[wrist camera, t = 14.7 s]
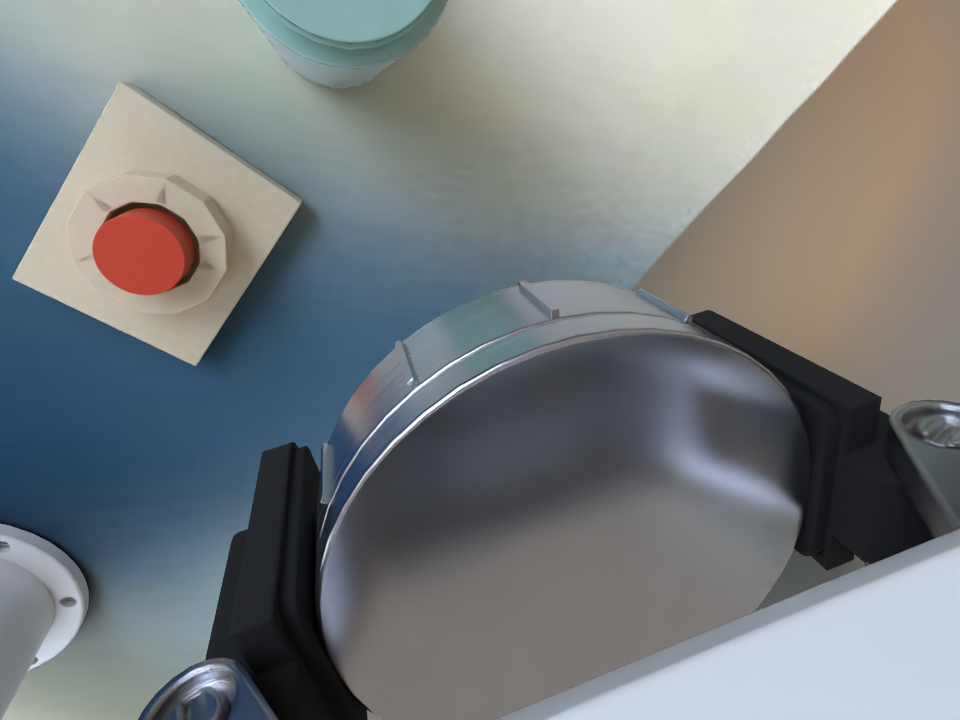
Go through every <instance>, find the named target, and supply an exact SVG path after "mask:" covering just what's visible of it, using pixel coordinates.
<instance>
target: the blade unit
mask: <svg viewBox="0 0 960 720" xmlns="http://www.w3.org/2000/svg"><path fill="white" fill-rule="evenodd" d="M518 285H519V286H516V287H512V288H508V289H505V290H501V291H497V292H494V293H490V294H487V295H485V296H482V297H480V298H477V299H475V300H472V301H470V302H468V303H465V304H463V305H460V306H458V307H456V308H454V309H452V310H451V311H449V312H447V313H445V314H443V315H442V316H440V317H438V318H436V319H435V320H433V321H431V322H429V323H428V324H426V325H425V326H423V327H422V328H421V329H419V330H418V331H417V332H415V333H414V334H413V335H411V336H410V337H408V338H407V339H406V340H404V341H403V342H402V341H401V340H398V341H397V342H396V343H395V347H396V348H395V349H394V350H393V351H392V352H391V353H390V354H389V355H388V356H387V357H385V358H384V359H383V360H382V361H381V362H380V363H379V364H378V365H377V366H376V367H375V368H374V369H373V371H372V372H371V373H370V374H369V376H368V377H367V378H366V379H365V380H364V382H363V383H362V384H361V385H360V387H359V388H358V389H357V390H356V391H355V393H354V395H353V396H352V398H351V400H350V401H349V403H348V404H347V406H346V408H345V409H344V411H343V412H342V414H341V416H340V417H339V419H338V422H337V424H336V426H335V429H334V431H333V433H332V435H331V438H330V440H329V442H328V444H324V443H323V445H322V448H321V471H320V478H319V488H318V498H317V542H316V586H315V603H316V616H317V628H318V631H319V635H320V639H321V642H322V645H323V648H324V651H325V654H326V656H327V657H328V659H329V661H330V663H331V665H332V667H333V668H334V670H335V672H336V674H337V676H338V677H339V679H340V681H341V683H342V684H343V685H344V687H345V688H346V689H347V690H348V692H349V693H350V694H351V695H352V697H354V698H355V699H356V700H357V701H358V702H359V703H360V704H362V705H363V706H364V707H365V708H366V709H367V710H369V711H370V712H371V713H373V714H374V715H376V716H378V717H379V718H381V719H383V720H497V719H499V718H501V717H504V716H506V715H509V714H511V713H513V712H516V711H518V710H520V709H523V708H525V707H528V706H530V705H532V704H535V703H537V702H539V701H542V700H544V699H547V698H549V697H551V696H554V695H556V694H558V693H561V692H563V691H566V690H568V689H570V688H573V687H575V686H578V685H580V684H582V683H585V682H587V681H589V680H592V679H594V678H597V677H599V676H601V675H604V674H606V673H608V672H611V671H613V670H616V669H618V668H620V667H623V666H625V665H628V664H630V663H633V662H635V661H637V660H640V659H642V658H645V657H647V656H649V655H652V654H654V653H657V652H659V651H662V650H664V649H666V648H669V647H671V646H674V645H676V644H678V643H681V642H683V641H686V640H688V639H690V638H693V637H695V636H698V635H700V634H703V633H705V632H707V631H710V630H712V629H715V628H717V627H719V626H722V625H724V624H727V623H729V622H732V621H734V620H736V619H739V618H741V617H744V616H746V615H749V614H751V613H753V612H754V611H755V609H756V608H757V607H758V606H759V604H760V603H761V602H762V601H763V599H764V598H765V597H766V596H767V594H768V592H769V591H770V589H771V588H772V586H773V585H774V583H775V582H776V580H777V579H778V577H779V576H780V574H781V572H782V570H783V569H784V567H785V565H786V563H787V561H788V559H789V557H790V555H791V553H792V551H793V549H794V547H795V544H796V542H797V539H798V537H799V534H800V532H801V529H802V527H803V523H804V519H805V516H806V512H807V508H808V504H809V496H810V488H811V479H812V455H811V449H810V444H809V438H808V433H807V430H806V427H805V425H804V422H803V419H802V416H801V414H800V411H799V409H798V408H797V406H796V404H795V403H794V401H793V399H792V398H791V396H790V394H789V393H788V391H787V390H786V388H785V387H784V385H783V384H782V383H781V382H780V381H779V380H778V379H777V378H776V377H775V376H774V375H773V374H772V372H771V371H770V370H769V369H768V368H767V367H765V366H764V365H762V364H761V363H760V362H758V361H757V360H756V359H754V358H753V357H751V356H750V355H749V354H747V353H746V352H744V351H742V350H741V349H739V348H737V347H735V346H734V345H732V344H730V343H728V342H727V341H725V340H723V339H721V338H719V337H717V336H716V335H714V334H712V333H711V332H709V331H707V330H705V329H704V328H702V327H700V326H698V325H697V324H695V323H693V322H692V320H693V317H692V316H690V315H688V314H686V313H684V312H683V311H681V310H679V309H677V308H676V307H674V306H672V305H670V304H668V303H666V302H665V301H663V300H661V299H659V298H657V297H655V296H654V295H652V294H650V293H648V292H646V291H645V290H643V289H640V288H639V289H638V290H637V292H633V291H630V290H627V289H623V288H620V287H617V286H613V285H609V284H602V283H595V282H588V281H547V282H540V283H533V284H528V283H527V282H526V281H520V282H518Z"/></svg>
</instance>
